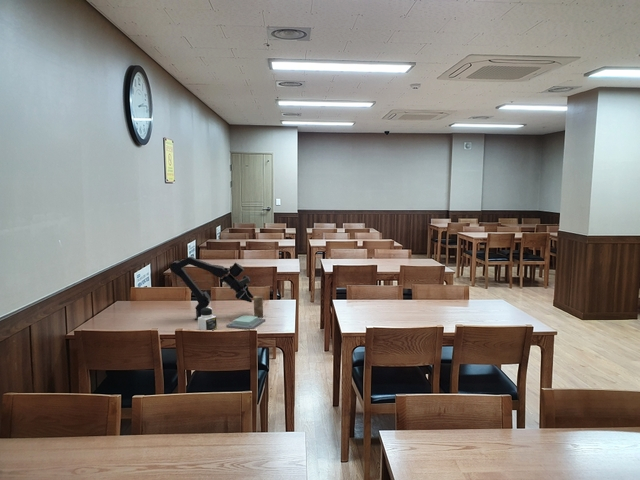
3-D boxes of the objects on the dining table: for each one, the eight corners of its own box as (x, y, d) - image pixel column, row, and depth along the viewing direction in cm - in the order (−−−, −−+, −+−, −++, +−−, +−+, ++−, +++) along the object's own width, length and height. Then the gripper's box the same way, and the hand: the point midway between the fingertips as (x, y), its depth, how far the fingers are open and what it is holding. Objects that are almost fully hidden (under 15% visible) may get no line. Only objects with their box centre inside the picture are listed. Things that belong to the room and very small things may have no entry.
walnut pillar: (254, 317, 260) (253, 298, 258) (254, 315, 265) (254, 295, 263) (262, 317, 260) (262, 297, 259) (263, 314, 265) (262, 295, 264)
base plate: (226, 327, 244) (226, 321, 244) (241, 318, 259) (240, 313, 258) (251, 330, 238) (251, 324, 238) (265, 321, 253) (265, 315, 253)
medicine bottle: (206, 332, 236) (205, 310, 235) (198, 329, 241) (197, 308, 239) (217, 328, 242) (216, 307, 240) (208, 326, 246) (207, 305, 245)
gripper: (240, 275, 249) (260, 293, 251) (243, 269, 268) (262, 286, 270) (227, 290, 250) (247, 307, 252) (230, 282, 268) (250, 299, 270)
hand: (252, 299), depth 261 cm, fingers open, 9 cm apart
